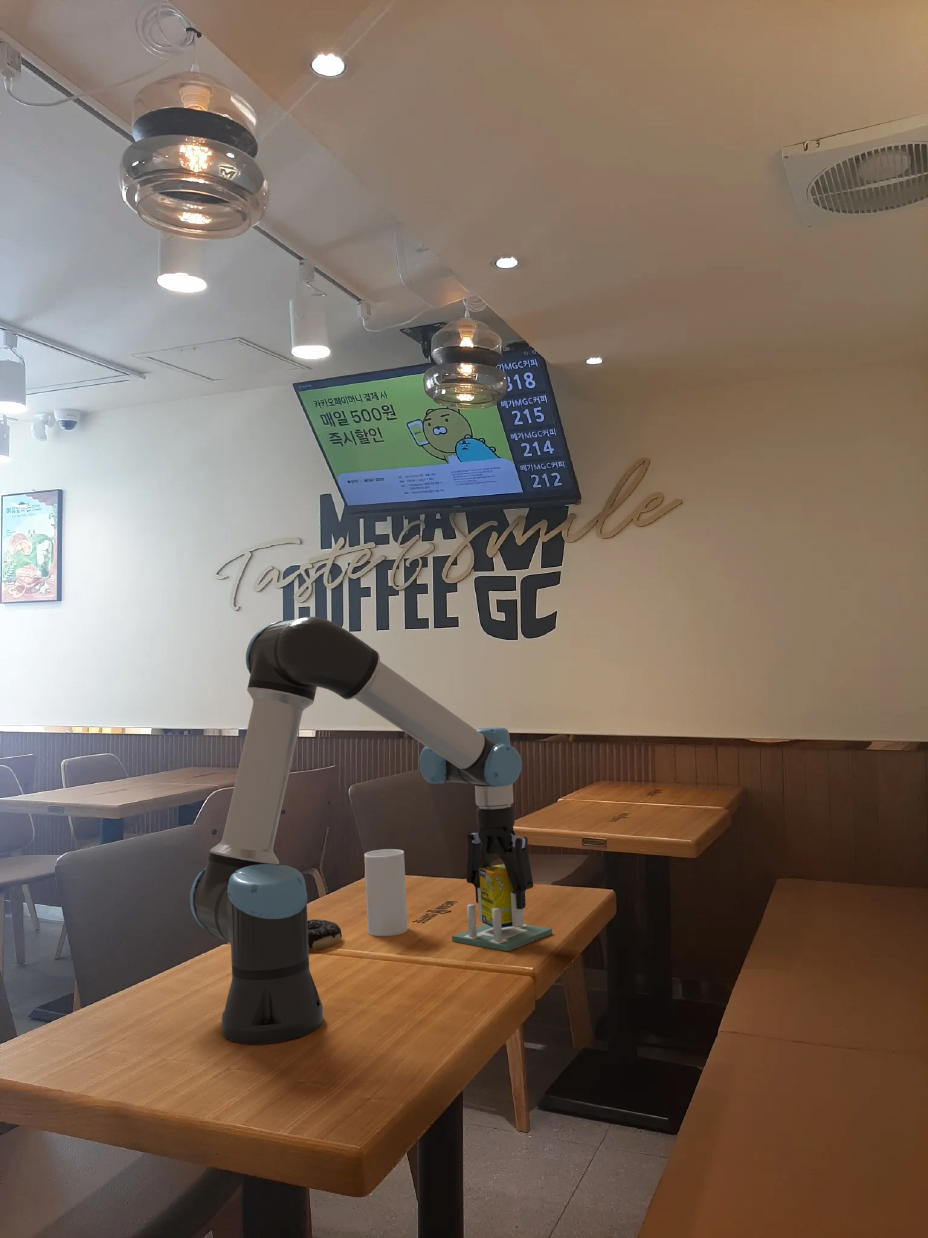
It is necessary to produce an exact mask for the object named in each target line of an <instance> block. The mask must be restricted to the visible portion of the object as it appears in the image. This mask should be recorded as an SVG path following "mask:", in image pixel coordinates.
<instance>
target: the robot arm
mask: <svg viewBox="0 0 928 1238" xmlns="http://www.w3.org/2000/svg"><path fill="white" fill-rule="evenodd" d="M245 664H246V668H247V670H248V672H249V679H248V684H247V687H246V691H247V693H248V694H249V695H250V698H251V699H252V707H251V711H250V715H249V719H248V725H247V730H246V733H245V738H244V741H243V746H242V751H241V756H240V761H239V764H238V767H237V768H238V769H237V772H236V778H235V781H234V786H233V791H232V795H231V799H230V804H229V809H228V812H227V817H226V821H225V826H224V830H223V834H222V839H221V841H220V842H219V843H218V844H216V845H215V846H214V847H212V848H210V850H209V853H208V854H209V855H208V858H207V862H206V866H205V868H203V869H202V871H200V872H199V874H197V876H196V877H195V879H194V880H193V883H192V885H191V889H190V891H189V892H190V894H189V904H190V911H191V913H192V916H193V917H194V919H195V921H196V922H197V923H198V924H199V925H200V927H202V929H203V930H205V931H206V932H207V933H208V934H210V935H211V936H213V937H215V938H218V939H221V940H223V941H225V942H228V943H229V944H230V956H231V981H230V987H229V990H228V994H227V998H226V1002H225V1006H224V1011H223V1013H222V1017H221V1030H222V1031H221V1032H222V1035H223V1037H224V1038H226V1039H228V1040H229V1041H233V1042H236V1043H241V1044H250V1045H251V1044H252V1045H253V1044H254V1045H259V1044H272V1043H279V1042H284V1041H289V1040H293V1039H297V1038H301V1037H303V1036H305V1035H307V1034H310V1033H312V1032H314V1031H315V1030H316V1029H318V1028H319V1027H320V1026H321V1025H322V1024H323V1021H324V1013H323V1012H324V1009H323V1003H322V1000H321V998H320V995H319V993H318V989H317V987H316V984H315V981H314V979H313V977H312V973H311V970H310V957H309V955H310V953H309V952H310V951H309V949H308V921H307V920H308V892H307V887H306V881H305V877H304V875H303V873H301V872H300V870H298V869H296V868H294V867H292V866H289V865H284V864H280V861H279V859H278V856H276V854H275V852H274V844H275V841H276V835H277V832H278V827H279V823H280V822H279V821H280V818H281V812H282V808H283V803H284V798H285V795H286V790H287V785H288V781H289V776H290V771H291V767H292V763H293V762H292V761H293V757H294V754H295V753H294V752H295V750H296V749H295V748H296V744H297V738H298V735H299V730H300V725H301V721H302V717H303V711H305V710H306V709H307V708H309V707H311V706H312V705H313V704H314V702H315V697H316V693H317V689H318V688H322V689H324V690H328V691H331V692H332V693H335V694H336V695H338V696H339V697H341V698H343V699H344V700H347V701H349V700H352V699H355V700H357V701H358V702H359V703H361V704H362V705H364V706H365V707H367V708H368V709H370V710H371V711H373V712H374V713H375V714H377V715H379V716H381V717H382V718H383V719H384V720H386V721H388V722H389V723H391V724H392V725H394V726H395V727H396V728H398V729H400V730H401V731H402V732H404V733H405V734H407V735H409V736H410V737H412V738H413V739H414V740H416V741H417V742H419V743H420V744H422V745H423V746H424V747H423V748H422V750H421V752H420V755H419V770H420V774H421V776H422V777H423V779H424V780H425V781H426V783H429V784H442V785H443V784H445V783H459V784H461V783H462V784H472V785H474V791H475V792H474V793H475V794H474V795H475V797H474V798H475V805H476V806H478V807H477V808H476V809H475V810H476V825H477V826H478V827H479V828H478V832H477V831H475V832H471V833H469V834H467V835H466V839H467V844H468V850H467V864H466V865H467V867H466V869H467V870H466V882H467V884H472V885H473V887H474V889H475V902H476V904H478V917H479V922H482V910H481V890H480V872H479V868H484V867H488V866H492V861H493V857H494V856H495V855H499V859H500V860H502V862H503V864H504V865H505V867H506V870H507V873H508V876H509V878H510V881H511V884H512V886H513V889H514V891H512V892H511V908H512V926H513V927H518V926H520V925H523V924H525V918H524V915H525V913H524V909H526V906H527V904H526V891H527V890H530V889H532V888H533V887H534V881H533V876H532V870H531V864H530V863H531V862H530V859H529V857H530V856H529V853H528V843H529V842H528V840H529V839H528V837H527V836H518V835H516V832H515V830H514V826H515V823H516V819H515V807H514V806H513V805H512V804H513V803H514V801H515V800H514V787H513V784H514V783H515V782H516V781H517V780H518V779H519V776H520V774H521V773H522V768H523V767H522V758H521V755H520V753H519V751H518V750H517V748H515V747H514V746H512V745H511V738H510V733H509V730H508V729H507V728H506V727H500V726H499V727H498V726H497V727H480V728H474V727H473V726H471V725H470V724H469V723H467V722H466V721H464V720H463V719H461V718H460V717H459V716H458V715H456V714H454V713H453V712H452V711H450V709H448V708H447V707H445V706H443V705H442V704H441V703H439V702H438V701H436V700H435V699H434V698H433V697H430V696H429V695H428V694H427V693H425V692H424V691H422V690H421V689H420V688H418V687H416V685H414V684H413V683H411V682H410V681H408V680H407V679H405V678H404V677H403V676H401V675H400V674H399V673H397V672H396V671H394V670H393V669H392V668H390V667H389V666H388V665H386V664H385V663H383V662H382V661H381V656H380V653H379V652H378V651H376V650H375V649H374V648H372V647H371V646H369V644H367V643H365V642H364V641H363V640H362V639H359V638H358V637H357V636H356V635H354V634H353V633H352V632H350V631H348V630H346V629H345V628H343V627H341V626H340V625H339V624H336V623H335V622H333V621H331V620H328V619H325V618H321V617H318V616H305V617H301V618H297V619H291V620H279V621H278V620H277V621H274V622H273V623H270V624H269V625H266V626H264V627H262V628H261V629H260V630H258V631H257V632H256V633H255V634H254V635H253V637H252V638H251V639H250V641H249V643H248V646H247V648H246V653H245ZM482 923H483V922H482Z"/></svg>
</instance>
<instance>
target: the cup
mask: <svg viewBox="0 0 928 1238" xmlns="http://www.w3.org/2000/svg"><path fill="white" fill-rule="evenodd" d="M363 856H364V875H365V876H364V877H365V897H366V898H365V899H366V918H367V920H366V921H367V934H368V935H370V936H374V937H392V936H398V935H401V934H404V933H406V932H407V931H408V929H409V928H408V912H407V911H408V909H407V908H408V907H407V888H406V885H407V884H406V870H405V869H406V867H405V864H406V863H405V851H404V850H402V849H394V848H390V849H389V848H386V849H385V848H384V849H377V850H376V849H375V850H371V851H367V852H365V853H364V854H363Z"/></svg>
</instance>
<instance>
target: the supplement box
mask: <svg viewBox="0 0 928 1238" xmlns="http://www.w3.org/2000/svg"><path fill="white" fill-rule="evenodd" d="M479 872H480V890H481V910H482V923H483V925H484V924H487V925H489V926H491V927H493V915H492V909H493V908H500V909H501V926H502V928H505V927H510V926H512V908H511V892H512V891H514V889H513V886H512V884H511V881H510V878H509V876H508V873H507V870H506V867H505V865H504V863H502V864H496V865H491V866H488V867H484V868H479Z"/></svg>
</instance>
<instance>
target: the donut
mask: <svg viewBox="0 0 928 1238" xmlns="http://www.w3.org/2000/svg"><path fill="white" fill-rule="evenodd" d="M307 921H308V949H309V952H310V951H311V952H312V951H319V950H324V949H327V948H331V947H333V946H334V945H336V944H338V943H339V942H340V940H341V939H342V937H343V935H342V929H341V928H340V926H339V924H337V923H336V922H332V921H330V920H327V919H307Z"/></svg>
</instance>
